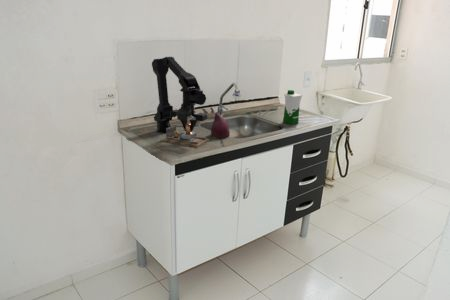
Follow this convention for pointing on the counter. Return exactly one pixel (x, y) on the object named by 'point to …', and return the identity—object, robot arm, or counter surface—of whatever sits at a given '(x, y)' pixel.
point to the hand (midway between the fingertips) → (188, 131)
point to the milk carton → (291, 107)
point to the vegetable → (220, 127)
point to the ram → (187, 133)
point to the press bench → (174, 137)
